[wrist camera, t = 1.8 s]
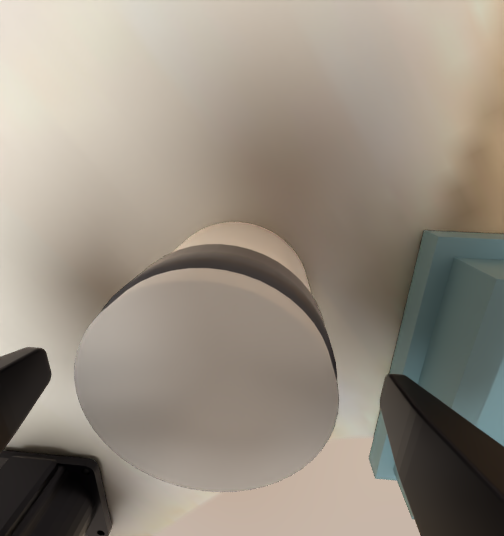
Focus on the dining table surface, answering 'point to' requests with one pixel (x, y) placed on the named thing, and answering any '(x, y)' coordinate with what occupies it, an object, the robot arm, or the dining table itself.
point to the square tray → (453, 334)
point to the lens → (213, 364)
